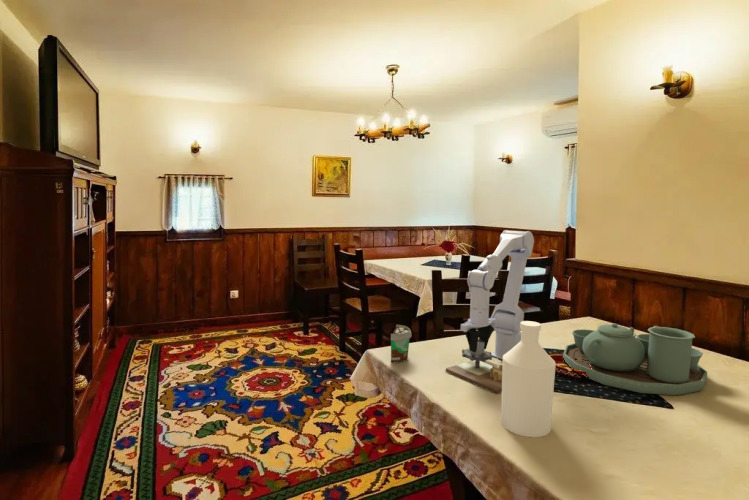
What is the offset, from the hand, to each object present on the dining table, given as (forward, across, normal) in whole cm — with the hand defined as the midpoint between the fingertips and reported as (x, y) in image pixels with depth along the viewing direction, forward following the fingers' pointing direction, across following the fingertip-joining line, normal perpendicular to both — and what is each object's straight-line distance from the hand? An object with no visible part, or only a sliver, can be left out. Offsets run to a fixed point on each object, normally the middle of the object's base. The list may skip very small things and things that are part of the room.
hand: (477, 349), depth 139 cm
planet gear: (+2, 0, 0) cm, 2 cm away
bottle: (+7, +17, +30) cm, 35 cm away
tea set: (+7, -42, +27) cm, 50 cm away
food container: (+7, +13, -22) cm, 26 cm away
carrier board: (+7, +1, +5) cm, 8 cm away
